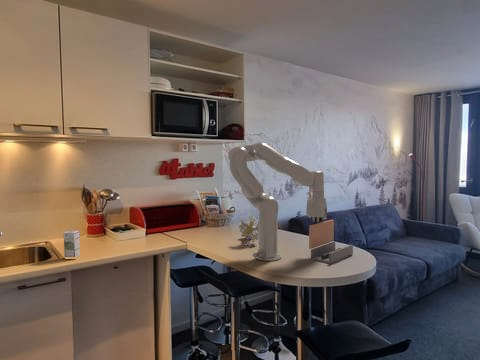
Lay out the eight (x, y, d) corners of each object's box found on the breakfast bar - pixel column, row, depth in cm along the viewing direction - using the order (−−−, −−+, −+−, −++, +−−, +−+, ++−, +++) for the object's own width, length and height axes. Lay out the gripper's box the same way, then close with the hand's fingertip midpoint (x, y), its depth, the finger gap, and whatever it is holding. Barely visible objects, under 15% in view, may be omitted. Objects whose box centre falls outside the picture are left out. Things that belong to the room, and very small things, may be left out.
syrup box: (80, 256, 180) (79, 229, 179) (75, 259, 174) (74, 232, 173) (69, 256, 180) (68, 230, 179) (64, 260, 174) (62, 232, 173)
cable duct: (330, 264, 158) (330, 253, 158) (310, 259, 166) (310, 249, 166) (352, 254, 174) (352, 244, 174) (333, 250, 182) (333, 241, 181)
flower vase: (243, 248, 216) (242, 248, 192) (237, 220, 220) (236, 216, 196) (263, 244, 217) (265, 243, 192) (256, 216, 221) (258, 212, 196)
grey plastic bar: (324, 259, 163) (324, 255, 163) (321, 258, 164) (321, 254, 164) (342, 251, 176) (342, 248, 176) (339, 251, 177) (339, 247, 177)
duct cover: (311, 225, 165) (309, 225, 166) (310, 248, 166) (309, 248, 167) (333, 219, 181) (332, 219, 181) (333, 241, 181) (331, 240, 182)
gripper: (300, 194, 177) (301, 229, 178) (325, 196, 167) (326, 232, 168) (308, 193, 183) (309, 227, 184) (333, 194, 172) (334, 230, 173)
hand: (317, 229), depth 176 cm, fingers closed
